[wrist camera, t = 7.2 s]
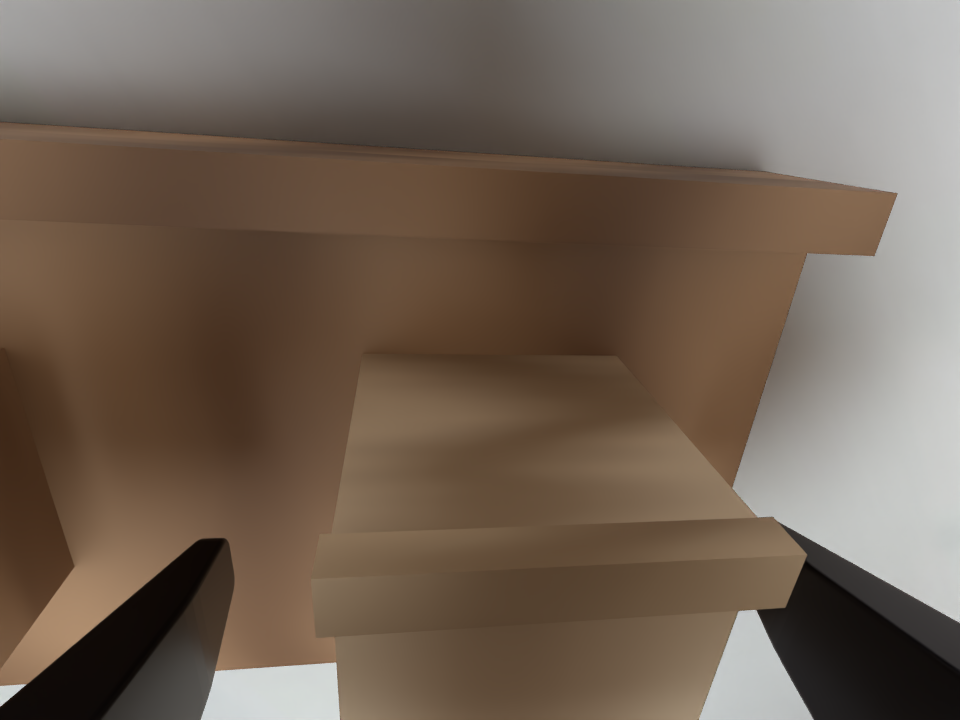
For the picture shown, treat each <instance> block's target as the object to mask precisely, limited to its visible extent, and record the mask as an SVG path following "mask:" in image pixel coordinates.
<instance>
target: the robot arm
mask: <svg viewBox="0 0 960 720" xmlns="http://www.w3.org/2000/svg"><path fill="white" fill-rule="evenodd" d="M778 523H779V522H778ZM779 524H780V525H781V526H782V527H783V528H784V530H785V531H786V532H787V533H788V534H789V535H790V536H791V537H792V538H793V539H794V541H795V542H796V543H797V544H798V545H799V546H800V547H801V548H802V549H803V550H804V552H805V553H806V554H807V557H806V559H805V561H804V564H803V566H802V569H801V571H800V574H799V576H798V578H797V581H796V583H795V586H794V588H793V590H792V593H791V595H790V598H789V600H788V602H787V605H786V607H785V608H774V609H759V610H757V612H758V614H759V616H760V619H761V621H762V623H763V625H764V628H765V630H766V632H767V634H768V636H769V639H770V641H771V643H772V645H773V647H774V649H775V651H776V653H777V655H778V656H779V658H780V660H781V662H782V664H783V666H784V667H785V669H786V671H787V673H788V675H789V676H790V678H791V680H792V682H793V683H794V685H795V687H796V689H797V691H798V692H799V694H800V696H801V698H802V700H803V701H804V703H805V705H806V707H807V708H808V710H809V712H810V714H811V716H812V717H813V719H814V720H960V623H959V622H957V621H955V620H953V619H951V618H950V617H948V616H946V615H944V614H942V613H941V612H939V611H937V610H935V609H933V608H932V607H930V606H928V605H926V604H924V603H923V602H921V601H919V600H917V599H915V598H914V597H912V596H910V595H908V594H907V593H905V592H903V591H901V590H899V589H898V588H896V587H894V586H892V585H890V584H889V583H887V582H885V581H883V580H881V579H880V578H878V577H876V576H874V575H872V574H871V573H869V572H867V571H865V570H863V569H862V568H860V567H858V566H856V565H855V564H853V563H851V562H849V561H847V560H846V559H844V558H842V557H840V556H838V555H837V554H835V553H833V552H831V551H829V550H828V549H826V548H824V547H822V546H820V545H819V544H817V543H815V542H813V541H811V540H810V539H808V538H806V537H804V536H802V535H801V534H799V533H797V532H795V531H794V530H792V529H790V528H788V527H786V526H785V525H783V524H781V523H779ZM234 583H235V576H234V569H233V563H232V557H231V551H230V545H229V542H228V540H227V539H225V538H203V539H199V540H198V541H196V542H195V543H193V544H192V545H191V546H190V547H189V548H188V549H186V550H185V551H184V552H183V553H182V554H180V555H179V556H178V557H177V558H176V559H175V560H173V561H172V562H171V563H170V564H169V565H167V566H166V567H165V568H164V569H163V570H162V571H160V572H159V573H158V574H157V575H156V576H154V577H153V578H152V579H151V580H150V581H149V582H147V583H146V584H145V585H144V586H143V587H141V588H140V589H139V590H138V591H137V592H136V593H134V594H133V595H132V596H131V597H130V598H128V599H127V600H126V601H125V602H124V603H123V604H121V605H120V606H119V607H118V608H117V609H115V610H114V611H113V612H112V613H111V614H110V615H108V616H107V617H106V618H105V619H104V620H102V621H101V622H100V623H99V624H98V625H97V626H95V627H94V628H93V629H92V630H91V631H89V632H88V633H87V634H86V635H85V636H84V637H82V638H81V639H80V640H79V641H78V642H76V643H75V644H74V645H73V646H72V647H71V648H69V649H68V650H67V651H66V652H65V653H63V654H62V655H61V656H60V657H59V658H57V659H56V660H55V661H54V662H53V663H52V664H50V665H49V666H48V667H47V668H46V669H44V670H43V671H42V672H41V673H40V674H39V675H37V676H36V677H35V678H34V679H33V680H31V681H30V682H29V683H28V684H27V685H26V686H24V687H23V688H22V689H21V690H20V691H18V692H17V693H16V694H15V695H14V696H13V697H11V698H10V699H9V700H8V701H7V702H5V703H4V704H3V705H2V706H1V707H0V720H201V717H202V714H203V711H204V708H205V705H206V702H207V699H208V696H209V693H210V689H211V686H212V682H213V678H214V674H215V669H216V665H217V661H218V656H219V652H220V648H221V643H222V639H223V635H224V630H225V626H226V622H227V617H228V613H229V609H230V604H231V600H232V596H233V591H234Z"/></svg>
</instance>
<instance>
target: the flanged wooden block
mask: <svg viewBox="0 0 960 720" xmlns="http://www.w3.org/2000/svg"><path fill="white" fill-rule="evenodd" d="M806 557H807V554H806V553H805V552H804V550H803V549H802V548H801V547H800V546H799V545H798V544H797V543H796V542H795V541H794V539H793V538H792V537H791V536H790V535H789V534H788V533H787V532H786V531H785V530H784V528H783V527H782V526H781V525H780V524H779V523H778V522H777V521H776V520H775V519H774V517H761V518H757V517H756V515H755V514H754V513H753V512H752V511H751V510H750V508H749V507H748V506H747V505H746V504H745V503H744V502H743V500H742V499H741V498H740V497H739V496H738V495H737V494H736V492H735V491H734V490H733V489H732V488H731V487H730V486H729V484H728V483H727V482H726V481H725V480H724V479H723V477H722V476H721V475H720V474H719V473H718V472H717V471H716V469H715V468H714V467H713V466H712V465H711V464H710V463H709V461H708V460H707V459H706V458H705V457H704V456H703V455H702V453H701V452H700V451H699V450H698V449H697V448H696V447H695V445H694V444H693V443H692V442H691V441H690V440H689V438H688V437H687V436H686V435H685V434H684V433H683V432H682V430H681V429H680V428H679V427H678V426H677V425H676V424H675V422H674V421H673V420H672V419H671V418H670V417H669V416H668V414H667V413H666V412H665V411H664V410H663V409H662V407H661V406H660V405H659V404H658V403H657V402H656V401H655V399H654V398H653V397H652V396H651V395H650V394H649V393H648V391H647V390H646V389H645V388H644V387H643V386H642V385H641V383H640V382H639V381H638V380H637V379H636V378H635V376H634V375H633V374H632V373H631V372H630V371H629V370H628V368H627V367H626V366H625V365H624V364H623V363H622V362H621V360H620V359H619V358H618V357H617V356H586V355H467V354H363V355H362V361H361V366H360V372H359V378H358V384H357V389H356V395H355V401H354V407H353V413H352V418H351V424H350V430H349V436H348V441H347V447H346V453H345V459H344V464H343V470H342V476H341V482H340V487H339V493H338V499H337V505H336V510H335V516H334V522H333V528H332V533H331V534H320V536H319V541H318V546H317V551H316V556H315V561H314V566H313V571H312V576H311V587H312V599H313V610H314V622H315V634H316V638H327V637H335V648H336V663H337V679H338V694H339V709H340V720H699V717H700V714H701V712H702V709H703V706H704V704H705V701H706V698H707V695H708V693H709V690H710V687H711V684H712V682H713V679H714V676H715V673H716V671H717V668H718V665H719V663H720V660H721V657H722V654H723V652H724V649H725V646H726V643H727V641H728V638H729V635H730V633H731V630H732V627H733V624H734V622H735V619H736V616H737V613H738V611H744V610H759V609H774V608H785V607H786V605H787V602H788V600H789V598H790V595H791V593H792V590H793V588H794V586H795V583H796V581H797V578H798V576H799V574H800V571H801V569H802V566H803V564H804V561H805V559H806Z"/></svg>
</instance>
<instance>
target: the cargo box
mask: <svg viewBox="0 0 960 720" xmlns="http://www.w3.org/2000/svg"><path fill="white" fill-rule="evenodd" d="M74 567H75V566H74V563H73V560H72V557H71V554H70V551H69V548H68V545H67V541H66V538H65V535H64V532H63V529H62V526H61V523H60V520H59V517H58V514H57V510H56V507H55V504H54V501H53V498H52V495H51V492H50V489H49V486H48V482H47V479H46V476H45V473H44V470H43V467H42V464H41V461H40V458H39V455H38V451H37V448H36V445H35V442H34V439H33V436H32V433H31V430H30V427H29V423H28V420H27V417H26V414H25V411H24V408H23V405H22V402H21V399H20V396H19V392H18V389H17V386H16V383H15V380H14V377H13V374H12V371H11V368H10V364H9V361H8V358H7V355H6V352H5V349H4V348H0V669H1V668H2V666H3V665H4V664H5V662H6V661H7V659H8V658H9V657H10V655H11V654H12V653H13V651H14V650H15V648H16V647H17V646H18V644H19V643H20V642H21V640H22V639H23V637H24V636H25V635H26V633H27V632H28V631H29V629H30V628H31V626H32V625H33V624H34V622H35V621H36V619H37V618H38V617H39V615H40V614H41V613H42V611H43V610H44V608H45V607H46V606H47V604H48V603H49V602H50V600H51V599H52V597H53V596H54V595H55V593H56V592H57V591H58V589H59V588H60V586H61V585H62V584H63V582H64V581H65V580H66V578H67V577H68V575H69V574H70V573H71V571H72V570H73V569H74Z"/></svg>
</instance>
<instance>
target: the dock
mask: <svg viewBox="0 0 960 720" xmlns="http://www.w3.org/2000/svg"><path fill="white" fill-rule="evenodd" d="M897 194H898V193H892V192H886V191H879V190H873V189H867V188H861V187H855V186H849V185H843V184H837V183H831V182H825V181H819V180H812V179H806V178H800V177H794V176H788V175H782V174H776V173H770V172H763V171H748V170H732V169H717V168H701V167H686V166H671V165H655V164H640V163H624V162H609V161H594V160H578V159H563V158H548V157H532V156H517V155H501V154H486V153H471V152H455V151H440V150H424V149H409V148H394V147H378V146H363V145H347V144H332V143H317V142H301V141H286V140H271V139H255V138H240V137H224V136H209V135H194V134H178V133H163V132H147V131H132V130H117V129H101V128H86V127H70V126H55V125H40V124H24V123H9V122H0V348H4V349H5V352H6V355H7V358H8V361H9V364H10V368H11V371H12V374H13V377H14V380H15V383H16V386H17V389H18V392H19V396H20V399H21V402H22V405H23V408H24V411H25V414H26V417H27V420H28V423H29V427H30V430H31V433H32V436H33V439H34V442H35V445H36V448H37V451H38V455H39V458H40V461H41V464H42V467H43V470H44V473H45V476H46V479H47V482H48V486H49V489H50V492H51V495H52V498H53V501H54V504H55V507H56V510H57V514H58V517H59V520H60V523H61V526H62V529H63V532H64V535H65V538H66V541H67V545H68V548H69V551H70V554H71V557H72V560H73V563H74V566H75V567H74V569H73V570H72V571H71V573H70V574H69V575H68V577H67V578H66V580H65V581H64V582H63V584H62V585H61V586H60V588H59V589H58V591H57V592H56V593H55V595H54V596H53V597H52V599H51V600H50V602H49V603H48V604H47V606H46V607H45V608H44V610H43V611H42V613H41V614H40V615H39V617H38V618H37V619H36V621H35V622H34V624H33V625H32V626H31V628H30V629H29V631H28V632H27V633H26V635H25V636H24V637H23V639H22V640H21V642H20V643H19V644H18V646H17V647H16V648H15V650H14V651H13V653H12V654H11V655H10V657H9V658H8V659H7V661H6V662H5V664H4V665H3V666H2V668H1V669H0V686H5V685H19V684H28V683H29V682H30V681H31V680H33V679H34V678H35V677H36V676H37V675H39V674H40V673H41V672H42V671H43V670H44V669H46V668H47V667H48V666H49V665H50V664H52V663H53V662H54V661H55V660H56V659H57V658H59V657H60V656H61V655H62V654H63V653H65V652H66V651H67V650H68V649H69V648H71V647H72V646H73V645H74V644H75V643H76V642H78V641H79V640H80V639H81V638H82V637H84V636H85V635H86V634H87V633H88V632H89V631H91V630H92V629H93V628H94V627H95V626H97V625H98V624H99V623H100V622H101V621H102V620H104V619H105V618H106V617H107V616H108V615H110V614H111V613H112V612H113V611H114V610H115V609H117V608H118V607H119V606H120V605H121V604H123V603H124V602H125V601H126V600H127V599H128V598H130V597H131V596H132V595H133V594H134V593H136V592H137V591H138V590H139V589H140V588H141V587H143V586H144V585H145V584H146V583H147V582H149V581H150V580H151V579H152V578H153V577H154V576H156V575H157V574H158V573H159V572H160V571H162V570H163V569H164V568H165V567H166V566H167V565H169V564H170V563H171V562H172V561H173V560H175V559H176V558H177V557H178V556H179V555H180V554H182V553H183V552H184V551H185V550H186V549H188V548H189V547H190V546H191V545H192V544H193V543H195V542H196V541H198V540H199V539H203V538H225V539H227V540H228V542H229V545H230V551H231V557H232V563H233V569H234V576H235V583H234V591H233V596H232V600H231V604H230V609H229V613H228V617H227V622H226V626H225V630H224V635H223V639H222V643H221V648H220V652H219V656H218V661H217V665H216V669H215V671H220V670H234V669H248V668H263V667H277V666H291V665H306V664H320V663H334V662H336V648H335V637H327V638H316V634H315V622H314V610H313V599H312V587H311V576H312V571H313V566H314V561H315V556H316V551H317V546H318V541H319V536H320V534H331V533H332V528H333V522H334V516H335V510H336V505H337V499H338V493H339V487H340V482H341V476H342V470H343V464H344V459H345V453H346V447H347V441H348V436H349V430H350V424H351V418H352V413H353V407H354V401H355V395H356V389H357V384H358V378H359V372H360V366H361V361H362V355H363V354H467V355H586V356H617V357H618V358H619V359H620V360H621V362H622V363H623V364H624V365H625V366H626V367H627V368H628V370H629V371H630V372H631V373H632V374H633V375H634V376H635V378H636V379H637V380H638V381H639V382H640V383H641V385H642V386H643V387H644V388H645V389H646V390H647V391H648V393H649V394H650V395H651V396H652V397H653V398H654V399H655V401H656V402H657V403H658V404H659V405H660V406H661V407H662V409H663V410H664V411H665V412H666V413H667V414H668V416H669V417H670V418H671V419H672V420H673V421H674V422H675V424H676V425H677V426H678V427H679V428H680V429H681V430H682V432H683V433H684V434H685V435H686V436H687V437H688V438H689V440H690V441H691V442H692V443H693V444H694V445H695V447H696V448H697V449H698V450H699V451H700V452H701V453H702V455H703V456H704V457H705V458H706V459H707V460H708V461H709V463H710V464H711V465H712V466H713V467H714V468H715V469H716V471H717V472H718V473H719V474H720V475H721V476H722V477H723V479H724V480H725V481H726V482H727V483H728V484H729V486H730V487H731V488H732V486H733V483H734V480H735V477H736V474H737V471H738V468H739V465H740V461H741V458H742V455H743V452H744V449H745V446H746V443H747V440H748V437H749V433H750V430H751V427H752V424H753V421H754V418H755V415H756V412H757V408H758V405H759V402H760V399H761V396H762V393H763V390H764V387H765V383H766V380H767V377H768V374H769V371H770V368H771V365H772V362H773V359H774V355H775V352H776V349H777V346H778V343H779V340H780V337H781V334H782V330H783V327H784V324H785V321H786V318H787V315H788V312H789V309H790V306H791V302H792V299H793V296H794V293H795V290H796V287H797V284H798V281H799V277H800V274H801V271H802V268H803V265H804V262H805V259H806V256H807V253H816V254H840V255H864V256H874V255H875V253H876V250H877V247H878V245H879V242H880V239H881V237H882V234H883V231H884V229H885V226H886V223H887V221H888V218H889V215H890V213H891V210H892V207H893V205H894V202H895V199H896V196H897Z"/></svg>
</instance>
